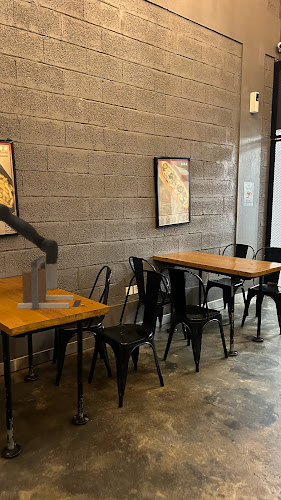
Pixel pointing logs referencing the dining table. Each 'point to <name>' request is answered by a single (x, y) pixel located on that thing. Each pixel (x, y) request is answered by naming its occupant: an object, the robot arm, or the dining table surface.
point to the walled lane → (50, 305)
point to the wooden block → (28, 286)
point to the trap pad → (76, 303)
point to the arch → (34, 279)
